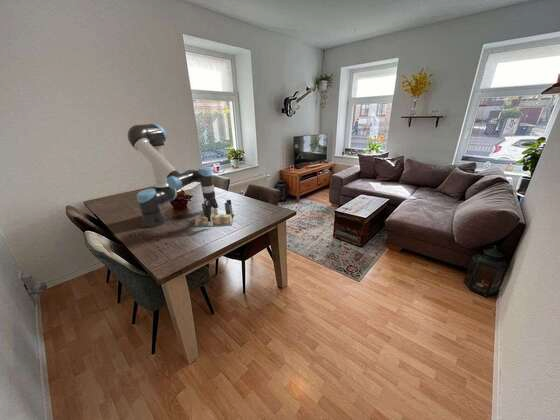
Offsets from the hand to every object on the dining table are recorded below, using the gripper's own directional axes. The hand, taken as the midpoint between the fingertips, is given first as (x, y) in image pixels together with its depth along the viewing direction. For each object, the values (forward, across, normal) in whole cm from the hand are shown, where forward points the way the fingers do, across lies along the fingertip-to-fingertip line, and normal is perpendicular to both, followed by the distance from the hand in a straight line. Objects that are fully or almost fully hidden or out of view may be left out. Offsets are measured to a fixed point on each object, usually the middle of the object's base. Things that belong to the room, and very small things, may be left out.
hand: (213, 221), depth 152 cm
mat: (+2, 0, 0) cm, 2 cm away
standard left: (+2, +9, +7) cm, 12 cm away
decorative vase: (+2, +21, +8) cm, 23 cm away
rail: (+1, 0, 0) cm, 1 cm away
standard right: (+2, +9, -9) cm, 13 cm away
